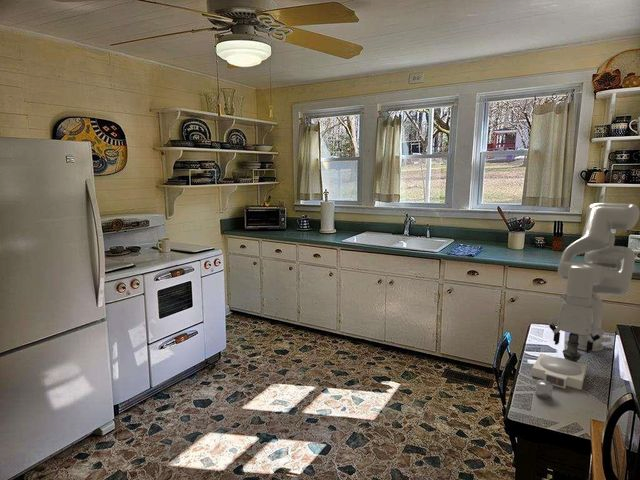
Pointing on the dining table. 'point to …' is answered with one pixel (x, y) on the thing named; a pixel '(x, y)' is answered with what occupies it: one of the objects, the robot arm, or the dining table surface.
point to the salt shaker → (572, 348)
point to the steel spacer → (544, 389)
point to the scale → (559, 371)
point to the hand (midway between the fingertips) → (572, 347)
